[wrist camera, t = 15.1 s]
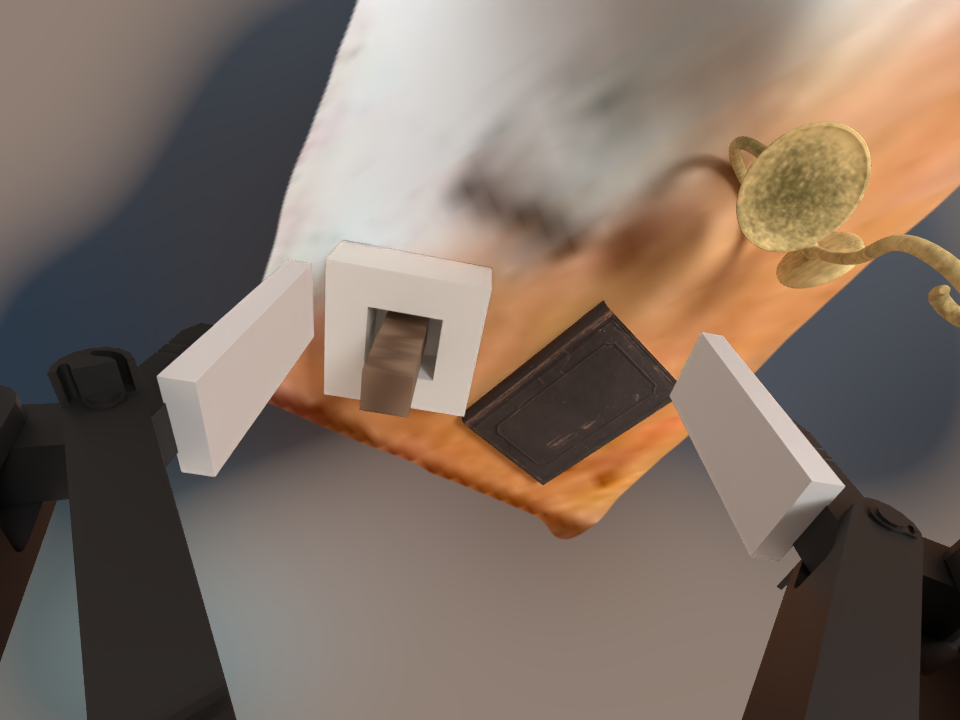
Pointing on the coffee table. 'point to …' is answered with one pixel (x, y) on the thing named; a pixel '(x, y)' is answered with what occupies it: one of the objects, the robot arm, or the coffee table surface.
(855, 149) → the wall sconce
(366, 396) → the walnut peg
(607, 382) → the hardcover book
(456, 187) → the coffee table surface
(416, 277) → the grey well block
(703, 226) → the coffee table surface
